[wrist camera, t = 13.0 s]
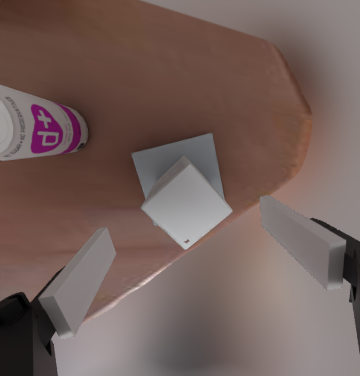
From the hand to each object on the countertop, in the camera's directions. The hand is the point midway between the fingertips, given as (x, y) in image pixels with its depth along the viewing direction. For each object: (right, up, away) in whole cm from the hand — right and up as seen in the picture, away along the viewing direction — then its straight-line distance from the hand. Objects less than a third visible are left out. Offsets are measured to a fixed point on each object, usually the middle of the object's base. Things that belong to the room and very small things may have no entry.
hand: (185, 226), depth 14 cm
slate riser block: (0, +5, +21) cm, 21 cm away
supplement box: (0, +4, +16) cm, 17 cm away
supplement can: (-21, +14, +17) cm, 31 cm away
